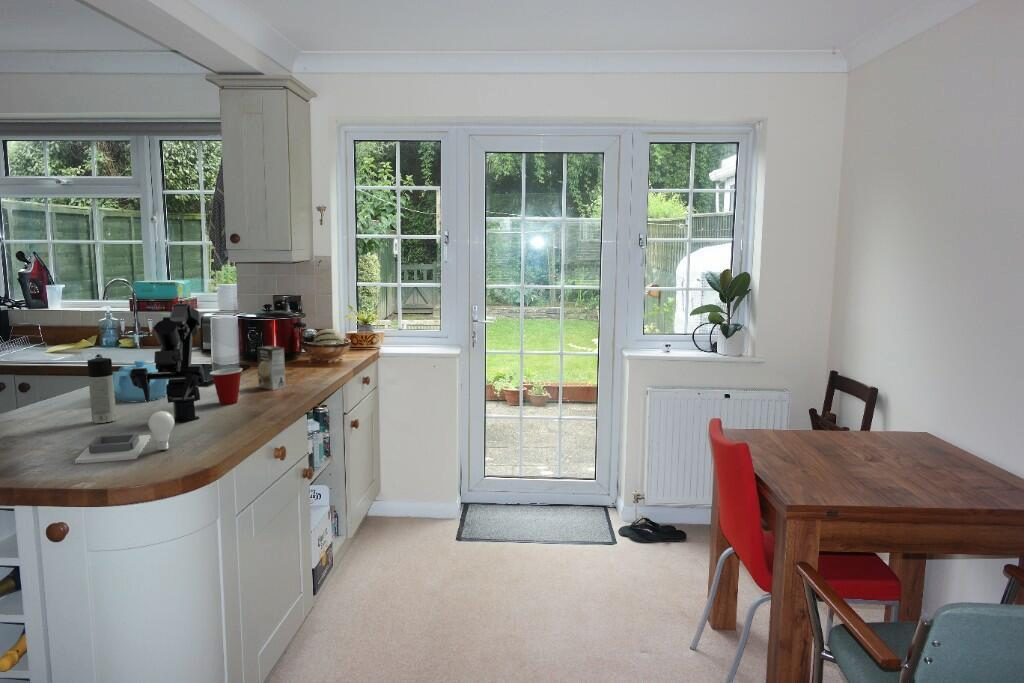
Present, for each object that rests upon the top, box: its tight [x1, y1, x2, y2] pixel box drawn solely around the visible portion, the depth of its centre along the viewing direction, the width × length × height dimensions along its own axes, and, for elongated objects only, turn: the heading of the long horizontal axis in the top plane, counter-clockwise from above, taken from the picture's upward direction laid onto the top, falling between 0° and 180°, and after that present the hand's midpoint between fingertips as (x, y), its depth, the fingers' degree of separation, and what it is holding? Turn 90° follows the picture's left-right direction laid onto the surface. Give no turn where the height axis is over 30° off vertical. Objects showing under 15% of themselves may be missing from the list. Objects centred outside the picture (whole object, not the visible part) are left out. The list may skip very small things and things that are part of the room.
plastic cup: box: [209, 367, 243, 406], centre depth 241 cm, size 11×11×12 cm
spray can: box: [86, 357, 117, 424], centre depth 214 cm, size 7×7×20 cm
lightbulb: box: [147, 410, 176, 451], centre depth 186 cm, size 6×6×11 cm
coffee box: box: [256, 345, 286, 391], centre depth 267 cm, size 9×6×16 cm
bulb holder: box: [74, 432, 152, 465], centre depth 186 cm, size 20×14×3 cm
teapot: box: [113, 359, 169, 402], centre depth 249 cm, size 19×19×14 cm
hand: (165, 400), depth 191 cm, fingers open, 9 cm apart
